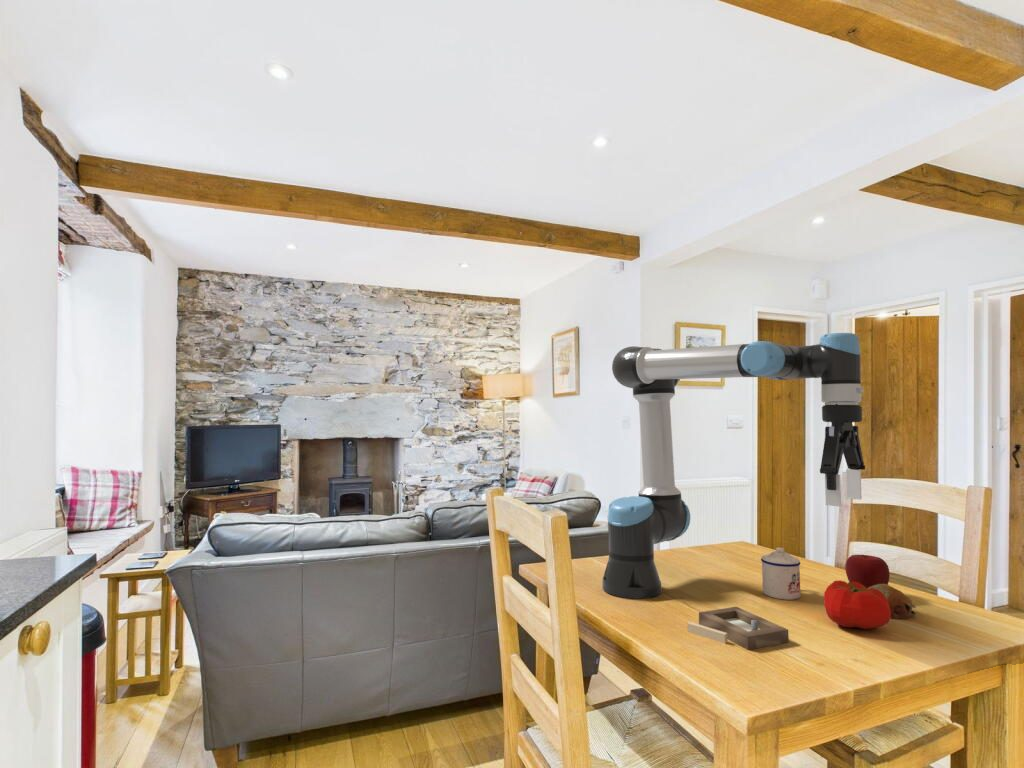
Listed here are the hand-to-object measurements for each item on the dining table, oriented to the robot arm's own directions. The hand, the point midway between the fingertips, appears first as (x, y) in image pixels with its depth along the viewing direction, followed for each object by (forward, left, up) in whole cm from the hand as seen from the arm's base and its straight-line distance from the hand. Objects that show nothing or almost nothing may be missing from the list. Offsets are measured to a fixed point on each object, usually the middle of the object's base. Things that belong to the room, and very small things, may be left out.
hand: (844, 502), depth 121 cm
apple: (-4, +29, -27) cm, 40 cm away
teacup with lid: (-19, +14, -27) cm, 36 cm away
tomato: (+1, +3, -27) cm, 27 cm away
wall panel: (-14, -24, -27) cm, 39 cm away
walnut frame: (-13, -23, -25) cm, 36 cm away
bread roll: (+3, +18, -27) cm, 33 cm away
